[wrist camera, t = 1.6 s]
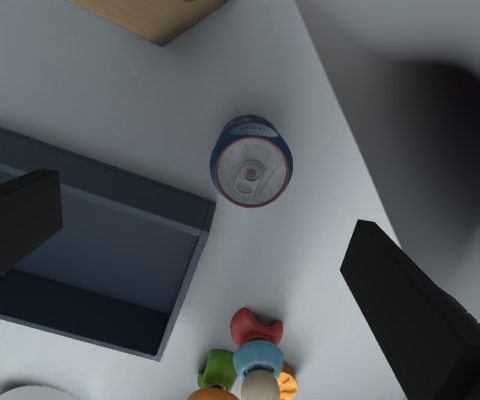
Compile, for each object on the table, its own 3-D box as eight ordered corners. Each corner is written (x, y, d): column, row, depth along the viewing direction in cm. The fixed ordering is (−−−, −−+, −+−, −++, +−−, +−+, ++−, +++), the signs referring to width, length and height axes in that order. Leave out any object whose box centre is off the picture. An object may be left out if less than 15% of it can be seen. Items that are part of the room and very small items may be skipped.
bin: (-16, 258, 39) (-77, 298, 32) (-11, 123, 32) (-88, 133, 25) (174, 314, 42) (160, 362, 35) (216, 202, 35) (209, 232, 28)
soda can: (235, 102, 31) (230, 111, 20) (289, 131, 32) (314, 154, 21) (209, 158, 33) (192, 193, 22) (261, 182, 34) (269, 228, 23)
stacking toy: (281, 400, 49) (293, 496, 38) (187, 376, 47) (169, 470, 36) (327, 328, 43) (359, 416, 31) (221, 296, 41) (212, 379, 29)
